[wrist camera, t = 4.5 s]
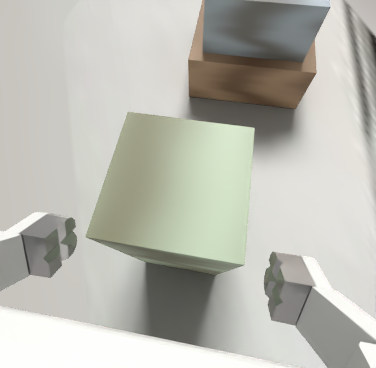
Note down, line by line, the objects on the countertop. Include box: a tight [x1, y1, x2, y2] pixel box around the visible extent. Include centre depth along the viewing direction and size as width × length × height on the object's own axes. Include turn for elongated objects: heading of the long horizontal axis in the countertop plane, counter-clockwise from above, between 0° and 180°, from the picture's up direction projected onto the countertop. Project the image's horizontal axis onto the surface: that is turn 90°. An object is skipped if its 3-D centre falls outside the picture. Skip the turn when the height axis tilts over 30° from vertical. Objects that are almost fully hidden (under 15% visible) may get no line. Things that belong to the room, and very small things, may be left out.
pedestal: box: [188, 0, 330, 109], centre depth 20 cm, size 10×10×8 cm
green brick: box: [86, 112, 255, 275], centre depth 13 cm, size 5×5×10 cm
